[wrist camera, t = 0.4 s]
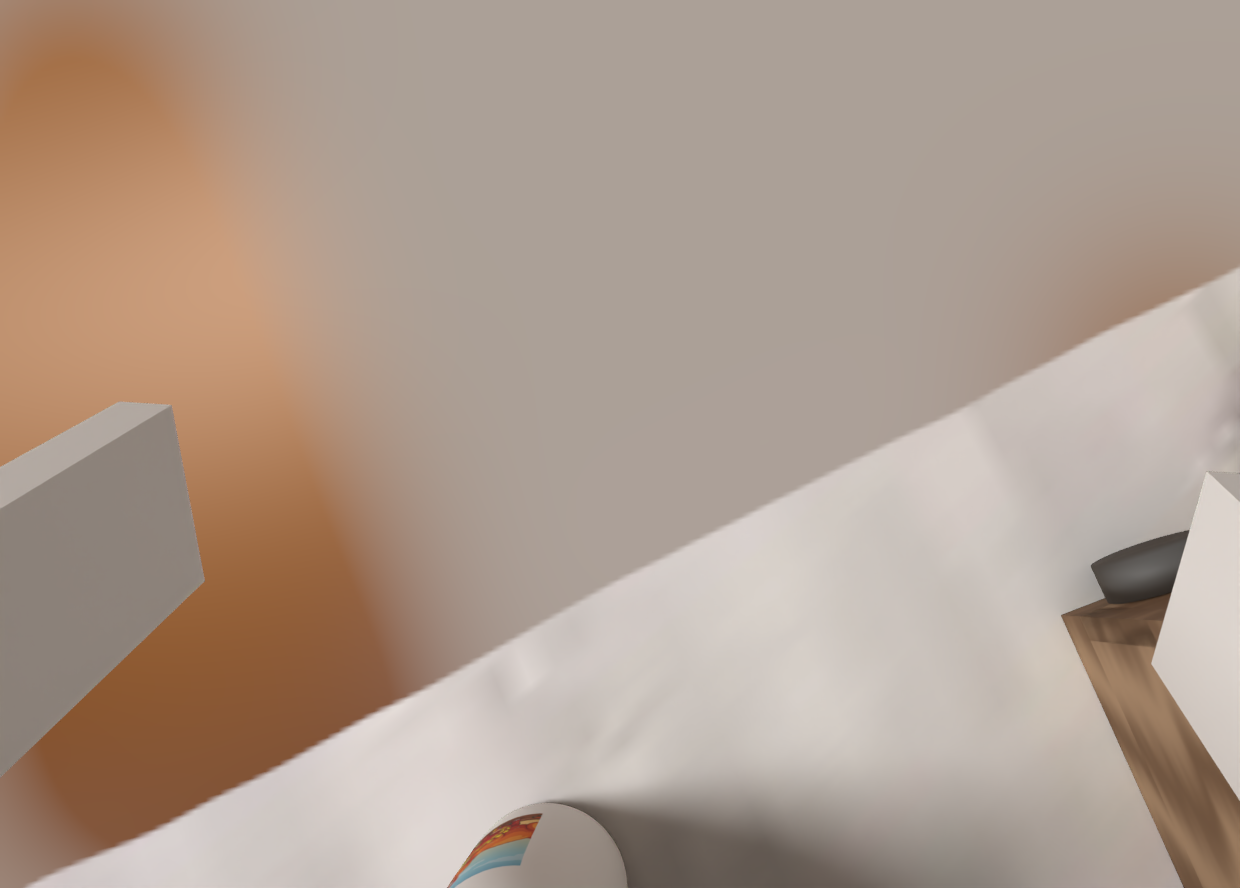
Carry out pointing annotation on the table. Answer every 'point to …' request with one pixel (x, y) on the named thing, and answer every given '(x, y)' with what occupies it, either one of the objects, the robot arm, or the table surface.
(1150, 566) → the tray
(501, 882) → the milk bottle
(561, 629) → the table surface
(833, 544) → the table surface
